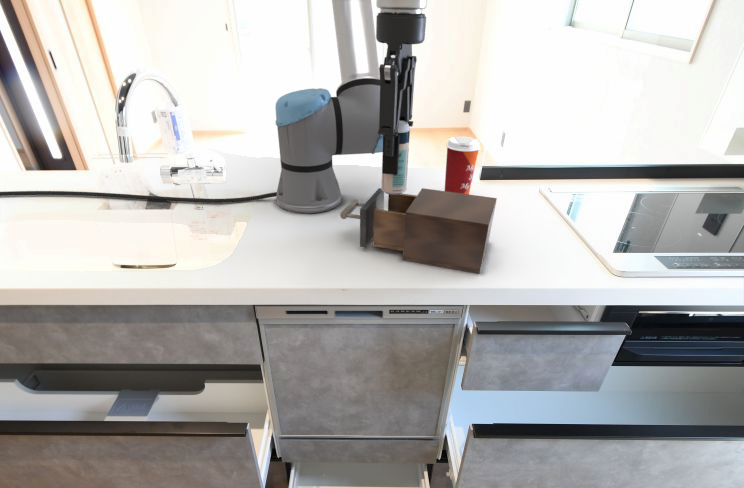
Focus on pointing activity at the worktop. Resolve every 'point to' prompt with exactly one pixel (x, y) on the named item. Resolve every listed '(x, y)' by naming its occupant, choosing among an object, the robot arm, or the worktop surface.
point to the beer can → (399, 164)
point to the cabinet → (448, 229)
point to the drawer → (381, 219)
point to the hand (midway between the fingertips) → (394, 168)
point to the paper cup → (460, 163)
